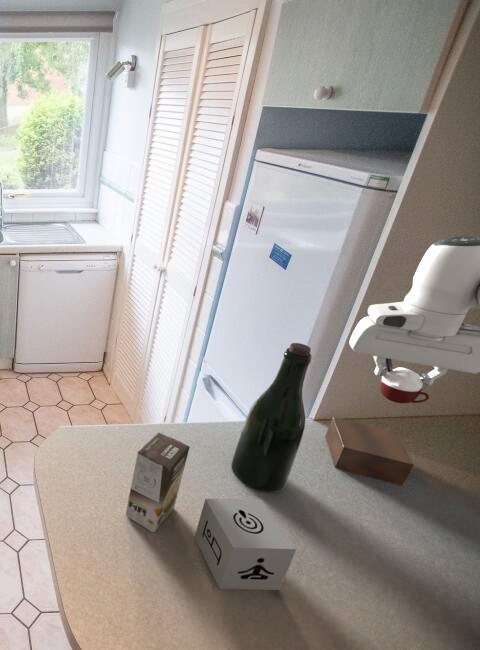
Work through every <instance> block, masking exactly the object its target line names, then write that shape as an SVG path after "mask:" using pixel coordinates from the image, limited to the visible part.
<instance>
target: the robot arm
mask: <svg viewBox="0 0 480 650" xmlns="http://www.w3.org/2000/svg"><path fill="white" fill-rule="evenodd" d="M470 309H478V310H480V237H475V236H451V237H445V238H442V239H440V240H437V241H435V242H433V243H432V244H431V245H430V246H429V248H428V249H427V250H426V252H425V253H424V255H423V257H422V258H421V261H420V262H419V264H418V265H417V269H416V270H415V273H414V275H413V277H412V287H411V289H410V291H409V292H408V293H407V294H406V295H405V296H404V299H403V300H402V301H396V302H389V303H388V302H387V303H375V304H371V305H369V306H368V308H367V314H368V315H367V316H364V317H363V318H361V319H360V320H359V322H358V323H357V324H356V325H355V328H354V330H353V331H352V334H351V336H350V338H349V341H348V343H349V346H350V348H351V349H352V351H353V352H354V353H356V354H359V355H367V356H371V357H373V361H374V363H375V365H376V366H375V369H374V375H375V376H378V377H382V376H383V377H385V376H386V373H387V372H388V369H387V368H386V365H383V364H382V363H386V362H385V360H386V358H389V359H391V360H394V361H400V362H406V363H412V364H418V365H423V366H427V367H429V366H430V367H433V368H434V369H433V370H431V371H429V372H428V373H424V372H422V373H421V375H420V378H421V380H422V383H423V385H426V386H431V387H432V386H433V384H434V382H435V380H437V379H439V378H441V377H442V376H444V375H446V374H447V372H448V370H452V371H457V372H463V373H469V374H475V375H476V374H478V373H480V326H479V325H473V324H470V323H469V324H468V323H463V322H464V320H465V318H466V315H467V313H468V312H469V310H470Z"/></svg>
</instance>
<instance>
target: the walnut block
mask: <svg viewBox="0 0 480 650" xmlns="http://www.w3.org/2000/svg"><path fill="white" fill-rule="evenodd" d="M324 438H325V440H326V441H325V442H326V444H327V447H328V450H329V454H330V456H331V459H332V463H333V466H334V468H335V469H338V470H343V471H346V472H349V473H354V474H356V475H361V476H365V477H369V478H372V479H376V480H380V481H383V482H387V483H391V484H394V485H398V486H402V487H404V484H405V483H406V481H407V478H408V477H409V475H410V473H411V471H412V469H413V467H414V462H413V460H412V459H411V457H410V454H409V453H408V452H407V450H406V447H405V446H404V444H403V442H402V441H401V438H400V437H399V435H398V433H397V431H395V430H390V429H386V428H381V427H377V426H373V425H369V424H365V423H360V422H356V421H351V420H347V419H342V418H338V417H335V416H334V417H333V416H332V418H331V421H330V424H329V426H328V429H327V431H326V433H325V436H324Z"/></svg>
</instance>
